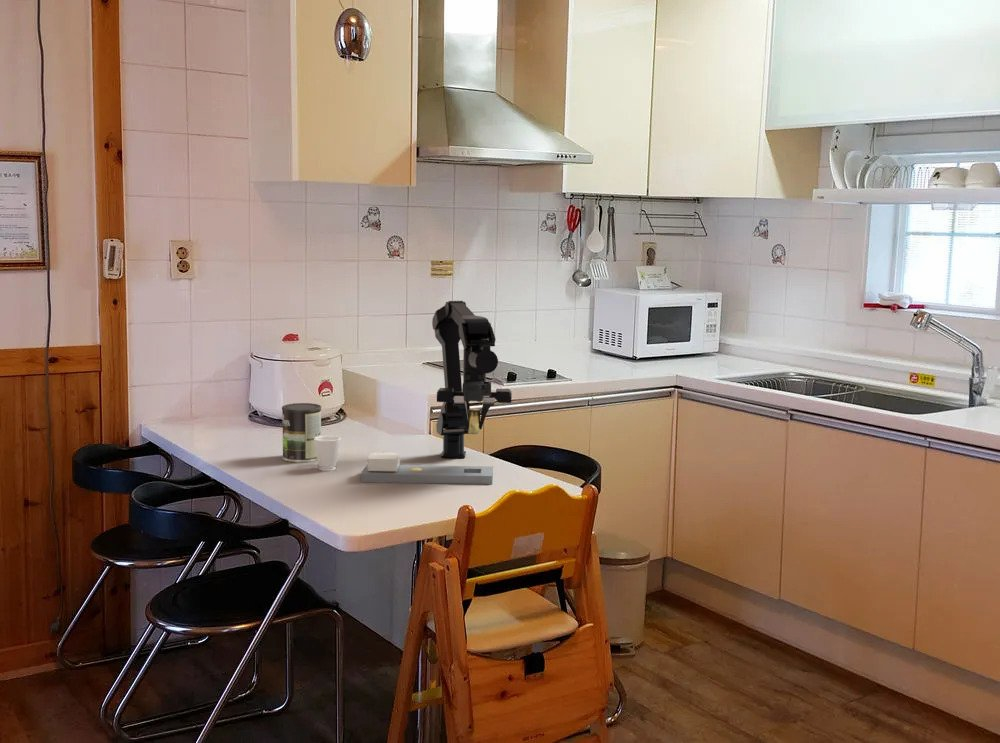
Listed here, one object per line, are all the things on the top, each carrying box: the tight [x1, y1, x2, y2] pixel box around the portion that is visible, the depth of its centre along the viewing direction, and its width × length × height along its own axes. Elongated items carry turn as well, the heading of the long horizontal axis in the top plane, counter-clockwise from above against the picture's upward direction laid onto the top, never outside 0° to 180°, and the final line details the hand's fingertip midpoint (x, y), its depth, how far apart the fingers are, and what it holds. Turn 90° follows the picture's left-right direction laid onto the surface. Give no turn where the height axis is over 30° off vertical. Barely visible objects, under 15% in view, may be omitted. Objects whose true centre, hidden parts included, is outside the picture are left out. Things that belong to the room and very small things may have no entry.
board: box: [360, 463, 494, 485], centre depth 255 cm, size 10×32×2 cm, turn 90°
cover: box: [367, 452, 400, 471], centre depth 255 cm, size 7×7×3 cm
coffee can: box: [281, 402, 322, 464], centre depth 273 cm, size 10×10×14 cm
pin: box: [467, 408, 481, 435], centre depth 260 cm, size 3×3×6 cm
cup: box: [314, 435, 341, 472], centre depth 264 cm, size 7×10×8 cm
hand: (474, 429), depth 260 cm, fingers closed on pin, 3 cm apart
